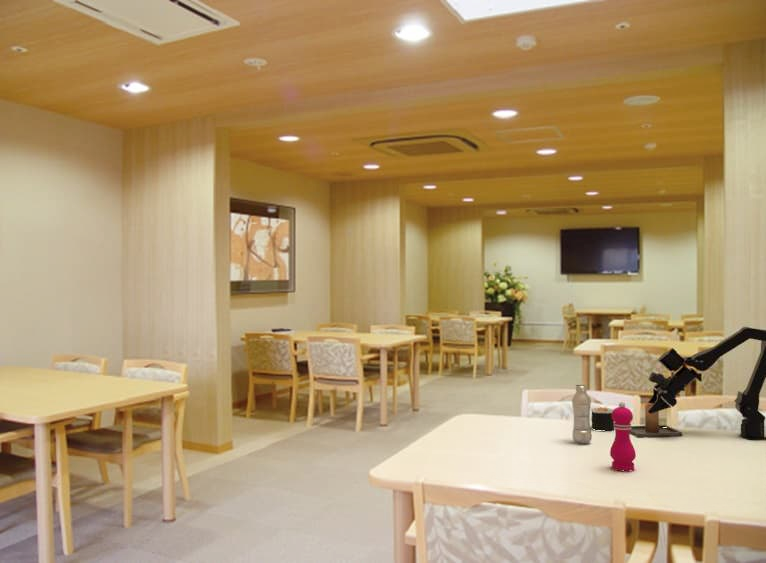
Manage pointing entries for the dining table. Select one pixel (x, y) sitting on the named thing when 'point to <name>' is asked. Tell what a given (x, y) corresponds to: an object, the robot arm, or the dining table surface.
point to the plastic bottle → (581, 415)
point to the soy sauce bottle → (651, 420)
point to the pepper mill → (622, 439)
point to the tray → (663, 432)
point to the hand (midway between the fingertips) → (647, 410)
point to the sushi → (602, 419)
